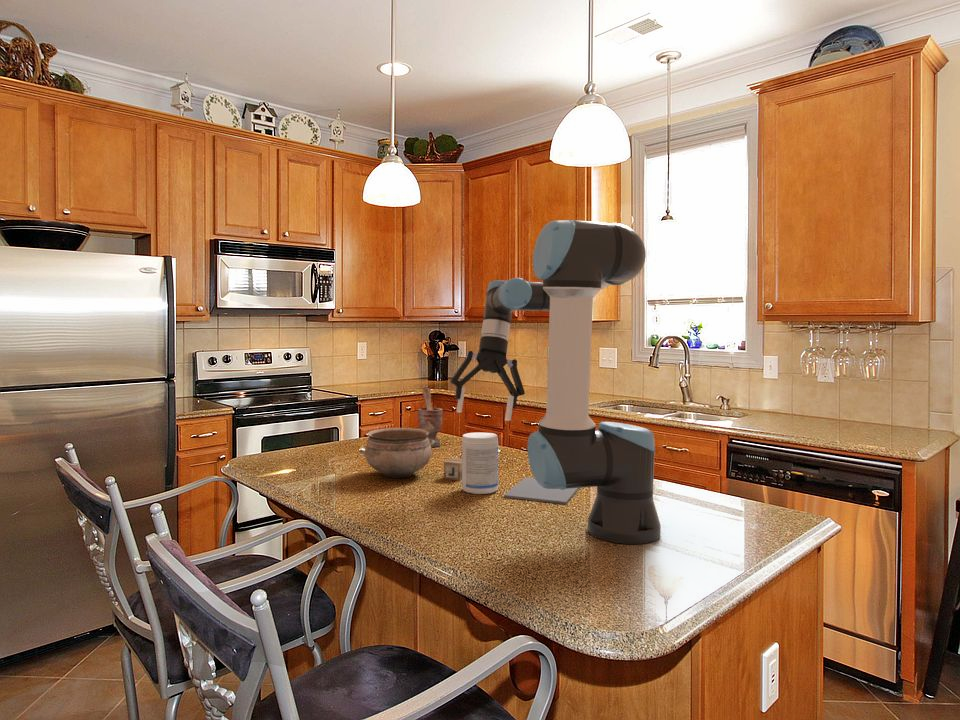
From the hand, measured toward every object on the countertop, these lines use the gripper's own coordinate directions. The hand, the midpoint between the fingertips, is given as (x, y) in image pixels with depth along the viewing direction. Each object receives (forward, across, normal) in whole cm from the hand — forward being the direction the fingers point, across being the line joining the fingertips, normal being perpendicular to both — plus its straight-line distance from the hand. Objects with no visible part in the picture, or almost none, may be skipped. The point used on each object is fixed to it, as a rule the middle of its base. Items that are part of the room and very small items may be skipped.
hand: (483, 416), depth 171 cm
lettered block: (+17, +1, -16) cm, 24 cm away
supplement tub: (+19, -2, -2) cm, 20 cm away
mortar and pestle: (+8, +1, -64) cm, 64 cm away
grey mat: (+17, -19, +3) cm, 25 cm away
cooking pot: (+19, +16, -22) cm, 34 cm away
